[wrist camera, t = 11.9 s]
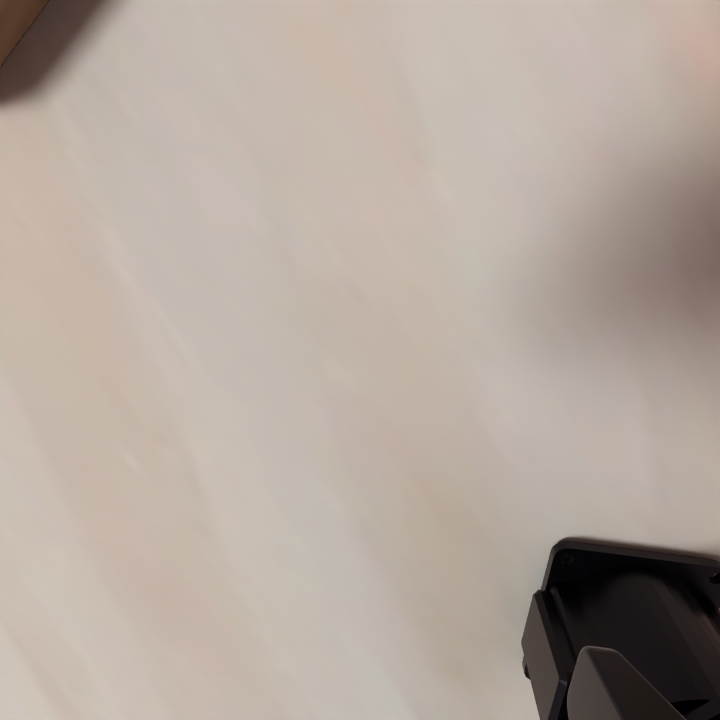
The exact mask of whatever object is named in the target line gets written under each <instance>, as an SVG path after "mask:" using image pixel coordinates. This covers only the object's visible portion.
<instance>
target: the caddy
mask: <svg viewBox="0 0 720 720" xmlns="http://www.w3.org/2000/svg"><path fill="white" fill-rule="evenodd" d="M47 2H48V0H0V66H1V65H2V63H3V62H4V61H5V59H6V58H7V56H8V55H9V54H10V52H11V51H12V50H13V48H14V47H15V45H16V44H17V43H18V41H19V40H20V39H21V37H22V36H23V35H24V33H25V32H26V30H27V29H28V28H29V26H30V25H31V24H32V22H33V21H34V20H35V18H36V17H37V15H38V14H39V13H40V11H41V10H42V9H43V7H44V6H45V4H46V3H47Z"/></svg>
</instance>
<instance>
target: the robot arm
mask: <svg viewBox="0 0 720 720" xmlns="http://www.w3.org/2000/svg"><path fill="white" fill-rule="evenodd" d="M564 554H570V556H569V557H567V558H561V556H562V555H564ZM714 573H717V574H716V575H715V576H713V577H710V576H711V575H712V574H714ZM719 608H720V562H719V561H715V560H708V559H700V558H693V557H685V556H677V555H669V554H661V553H654V552H646V551H638V550H630V549H622V548H614V547H607V546H599V545H591V544H583V543H575V542H568V541H565V542H559V543H557V544H556V545H554V546H553V548H552V549H551V552H550V556H549V560H548V564H547V568H546V572H545V576H544V580H543V583H542V587H541V590H538V591H536V592H535V593H534V594H533V597H532V601H531V605H530V609H529V613H528V617H527V621H526V625H525V629H524V633H523V637H522V642H521V643H522V648H523V652H524V658H523V662H522V666H523V670H524V674H525V676H526V677H527V678H528V679H530V680H531V684H532V688H533V692H534V696H535V700H536V704H537V709H538V713H539V717H540V720H720V611H719Z"/></svg>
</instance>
